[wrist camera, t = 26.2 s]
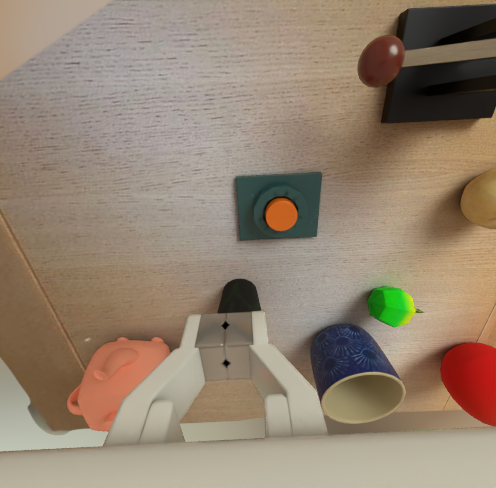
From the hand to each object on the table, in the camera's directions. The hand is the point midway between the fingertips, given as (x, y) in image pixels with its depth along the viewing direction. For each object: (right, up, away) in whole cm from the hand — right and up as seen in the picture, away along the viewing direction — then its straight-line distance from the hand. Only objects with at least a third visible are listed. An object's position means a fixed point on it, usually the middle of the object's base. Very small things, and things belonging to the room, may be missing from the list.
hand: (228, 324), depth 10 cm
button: (+5, +7, +23) cm, 24 cm away
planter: (+18, -15, +37) cm, 43 cm away
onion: (+33, +10, +24) cm, 42 cm away
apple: (+24, -5, +32) cm, 40 cm away
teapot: (-19, -17, +37) cm, 45 cm away
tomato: (+42, -18, +39) cm, 60 cm away
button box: (+5, +8, +25) cm, 26 cm away
